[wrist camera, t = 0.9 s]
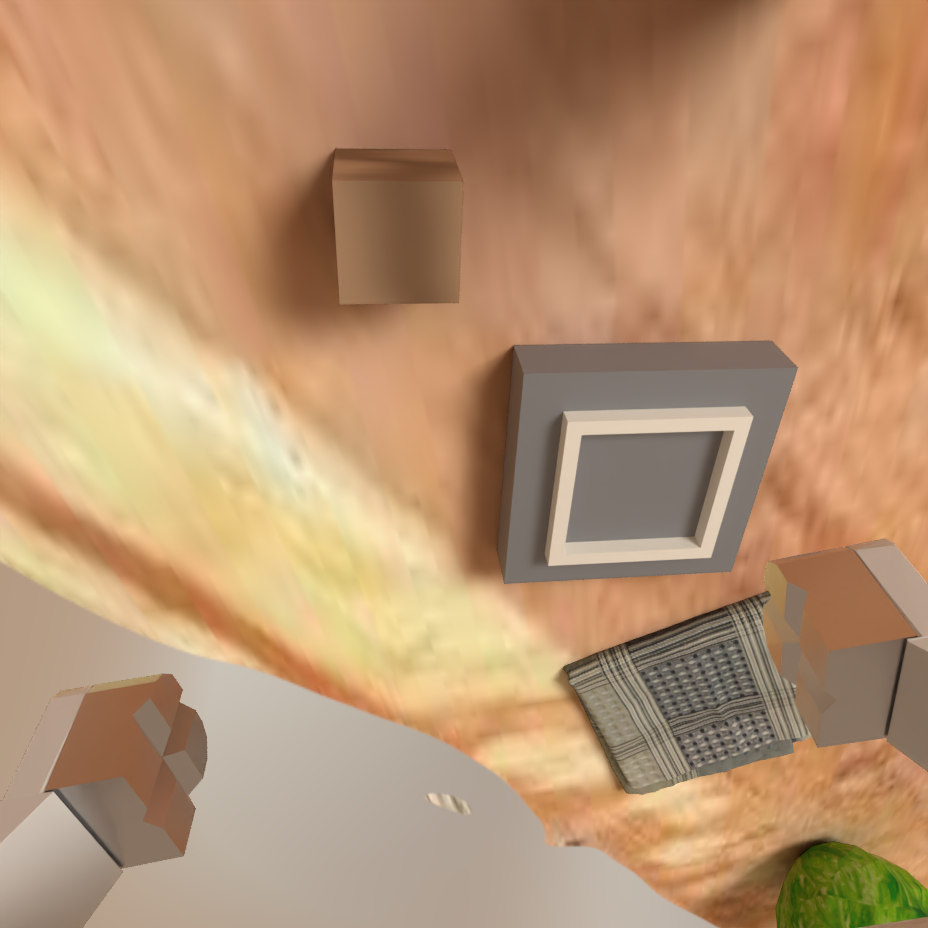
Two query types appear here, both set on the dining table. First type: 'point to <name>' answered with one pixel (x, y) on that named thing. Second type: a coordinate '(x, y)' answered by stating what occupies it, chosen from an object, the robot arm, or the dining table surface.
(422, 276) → the walnut block
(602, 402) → the plinth
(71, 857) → the robot arm
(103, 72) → the dining table surface
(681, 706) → the dish towel
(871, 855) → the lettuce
